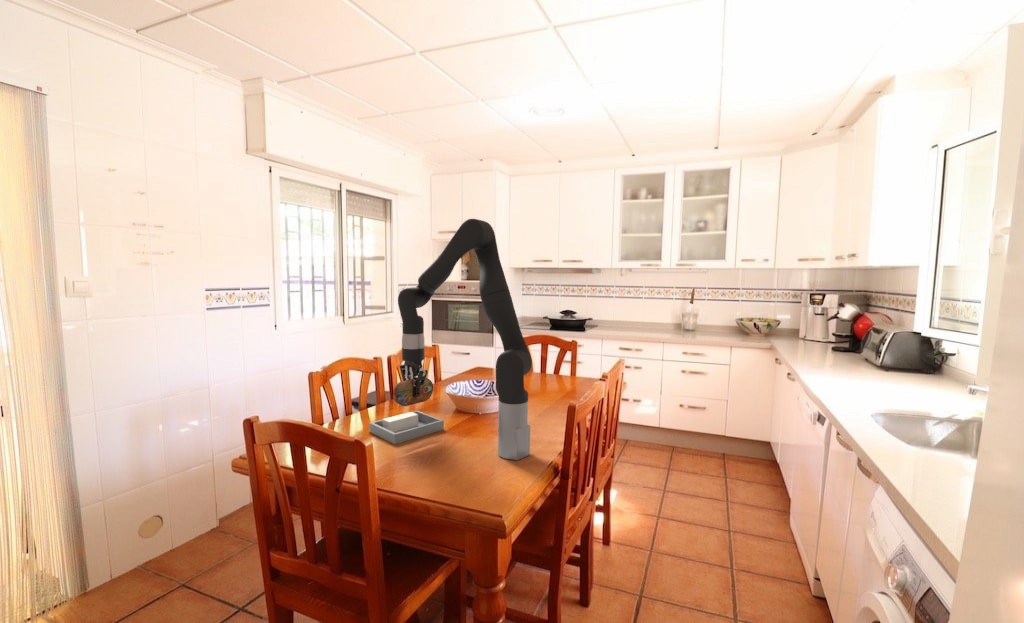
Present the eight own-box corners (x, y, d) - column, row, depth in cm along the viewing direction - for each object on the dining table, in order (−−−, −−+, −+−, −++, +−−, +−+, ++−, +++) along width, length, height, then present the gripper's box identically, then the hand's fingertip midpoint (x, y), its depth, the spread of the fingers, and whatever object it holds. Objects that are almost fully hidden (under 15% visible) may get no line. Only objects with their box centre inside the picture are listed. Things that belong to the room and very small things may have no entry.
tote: (443, 431, 163) (443, 420, 162) (394, 446, 148) (394, 434, 148) (417, 420, 173) (417, 410, 173) (369, 434, 159) (369, 422, 159)
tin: (396, 408, 151) (397, 384, 150) (391, 405, 153) (391, 381, 152) (433, 399, 162) (434, 376, 160) (428, 397, 164) (429, 374, 162)
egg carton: (418, 425, 166) (418, 414, 166) (389, 433, 158) (389, 422, 157) (411, 422, 169) (411, 411, 169) (382, 430, 161) (382, 419, 160)
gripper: (434, 347, 153) (434, 398, 155) (410, 342, 163) (411, 390, 164) (415, 350, 148) (415, 402, 149) (392, 344, 157) (392, 393, 159)
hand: (413, 395), depth 157 cm, fingers closed on tin, 2 cm apart
